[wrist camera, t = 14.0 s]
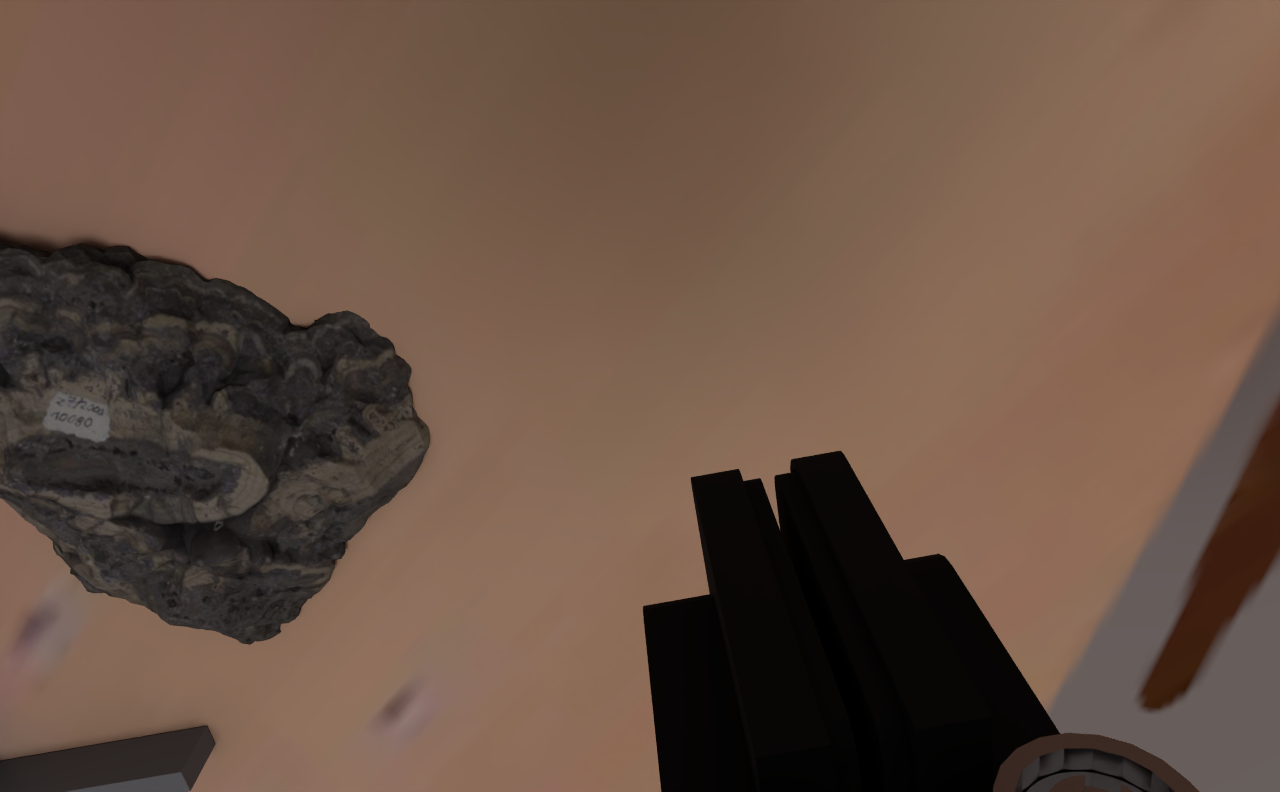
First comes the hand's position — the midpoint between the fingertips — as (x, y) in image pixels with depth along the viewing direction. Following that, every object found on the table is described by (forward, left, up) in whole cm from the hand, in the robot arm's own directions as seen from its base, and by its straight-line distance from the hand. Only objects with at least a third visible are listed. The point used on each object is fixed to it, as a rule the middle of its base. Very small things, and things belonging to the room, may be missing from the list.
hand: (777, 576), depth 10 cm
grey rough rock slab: (+5, -20, -22) cm, 30 cm away
